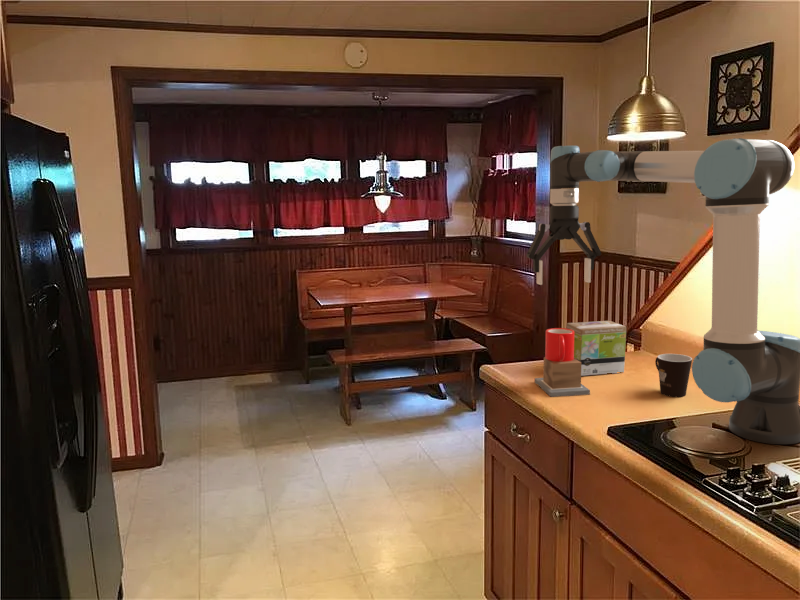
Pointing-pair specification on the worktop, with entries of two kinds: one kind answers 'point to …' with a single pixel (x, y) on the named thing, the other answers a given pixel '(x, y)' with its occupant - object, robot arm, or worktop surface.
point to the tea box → (599, 346)
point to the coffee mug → (673, 374)
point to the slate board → (562, 389)
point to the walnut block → (562, 374)
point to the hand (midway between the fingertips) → (563, 283)
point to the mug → (559, 344)
